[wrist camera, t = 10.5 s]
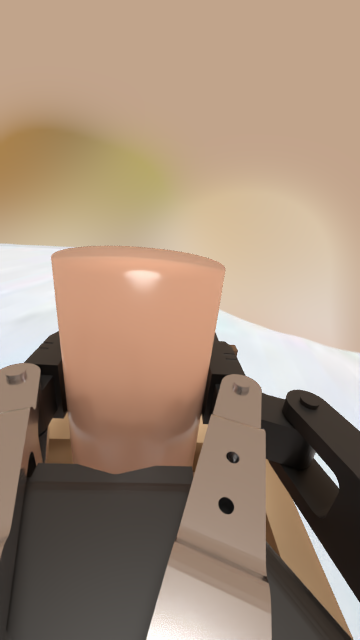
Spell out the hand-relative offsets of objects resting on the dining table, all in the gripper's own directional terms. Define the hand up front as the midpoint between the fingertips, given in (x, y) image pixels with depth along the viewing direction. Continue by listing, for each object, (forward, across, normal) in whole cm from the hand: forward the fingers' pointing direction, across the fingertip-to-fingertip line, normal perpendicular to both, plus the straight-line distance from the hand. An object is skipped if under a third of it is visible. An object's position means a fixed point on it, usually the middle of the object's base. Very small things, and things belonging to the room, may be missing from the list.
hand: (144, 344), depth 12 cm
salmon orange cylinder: (-3, 0, +8) cm, 8 cm away
